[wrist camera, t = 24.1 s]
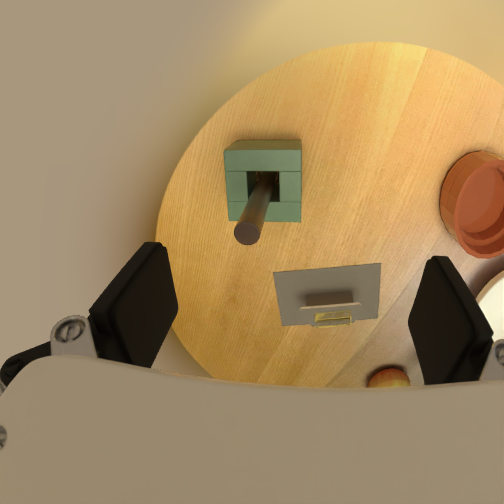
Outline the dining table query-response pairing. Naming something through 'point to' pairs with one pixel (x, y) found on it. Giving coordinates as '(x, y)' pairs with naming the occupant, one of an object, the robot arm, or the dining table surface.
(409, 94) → the dining table surface
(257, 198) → the stick
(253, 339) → the dining table surface
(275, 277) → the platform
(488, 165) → the mixing bowl
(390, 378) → the apple
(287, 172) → the stand
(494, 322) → the bowl
